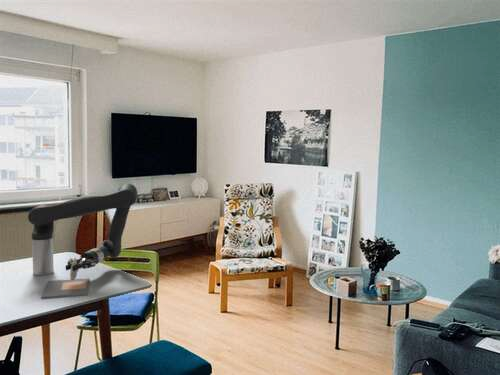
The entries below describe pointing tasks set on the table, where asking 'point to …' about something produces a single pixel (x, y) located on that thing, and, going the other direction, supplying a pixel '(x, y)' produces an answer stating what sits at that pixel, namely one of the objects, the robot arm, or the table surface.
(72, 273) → the arrowhead
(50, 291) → the mat
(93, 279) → the table surface
